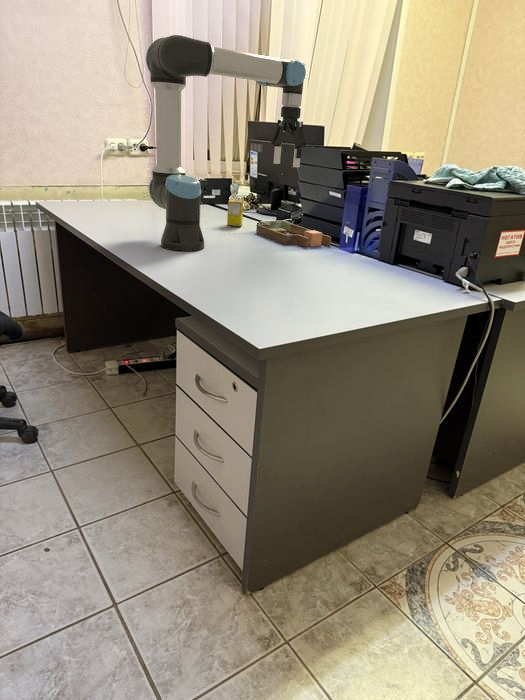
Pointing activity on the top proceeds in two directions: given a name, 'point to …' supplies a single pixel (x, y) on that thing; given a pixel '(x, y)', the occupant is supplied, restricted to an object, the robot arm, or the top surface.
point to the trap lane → (280, 228)
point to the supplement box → (235, 213)
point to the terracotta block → (313, 237)
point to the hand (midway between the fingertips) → (286, 165)
